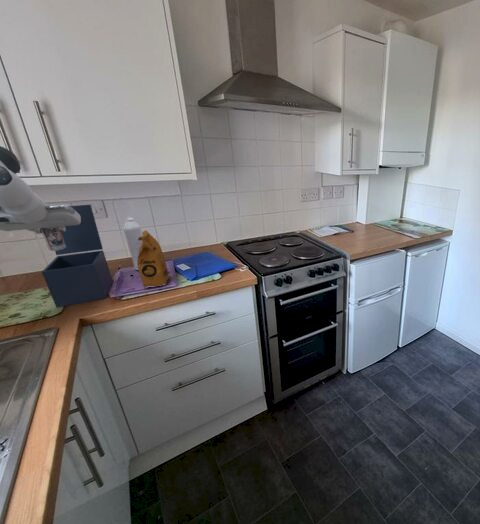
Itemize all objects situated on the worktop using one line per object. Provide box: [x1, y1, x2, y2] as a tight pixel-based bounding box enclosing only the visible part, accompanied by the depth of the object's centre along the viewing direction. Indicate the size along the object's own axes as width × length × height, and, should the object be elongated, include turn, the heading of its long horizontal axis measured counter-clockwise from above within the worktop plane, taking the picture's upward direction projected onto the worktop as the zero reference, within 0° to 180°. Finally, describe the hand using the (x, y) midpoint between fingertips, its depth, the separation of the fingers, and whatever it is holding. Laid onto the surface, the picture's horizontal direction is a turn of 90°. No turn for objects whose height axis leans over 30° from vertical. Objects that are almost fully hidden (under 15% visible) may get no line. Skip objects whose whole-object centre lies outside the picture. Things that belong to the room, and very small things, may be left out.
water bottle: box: [123, 216, 143, 270], centre depth 138 cm, size 9×6×25 cm
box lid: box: [54, 204, 104, 256], centre depth 121 cm, size 18×15×4 cm
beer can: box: [40, 227, 66, 252], centre depth 104 cm, size 5×5×12 cm
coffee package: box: [137, 229, 170, 288], centre depth 125 cm, size 10×12×22 cm
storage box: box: [41, 249, 114, 308], centre depth 117 cm, size 18×15×14 cm
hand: (51, 230), depth 104 cm, fingers closed on beer can, 5 cm apart
